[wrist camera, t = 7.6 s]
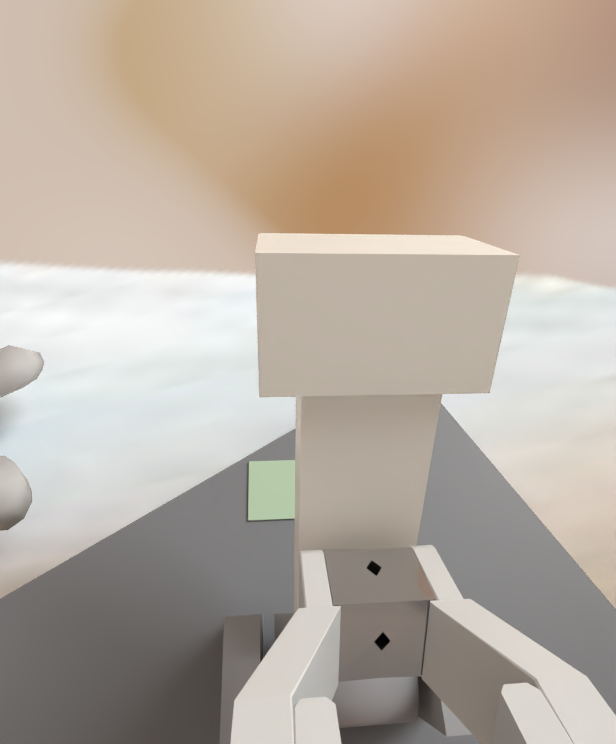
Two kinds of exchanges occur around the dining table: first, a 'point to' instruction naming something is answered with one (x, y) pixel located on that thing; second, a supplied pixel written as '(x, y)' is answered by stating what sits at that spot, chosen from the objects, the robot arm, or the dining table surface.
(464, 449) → the breaker panel
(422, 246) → the breaker lever
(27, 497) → the bunny figurine
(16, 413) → the dining table surface
